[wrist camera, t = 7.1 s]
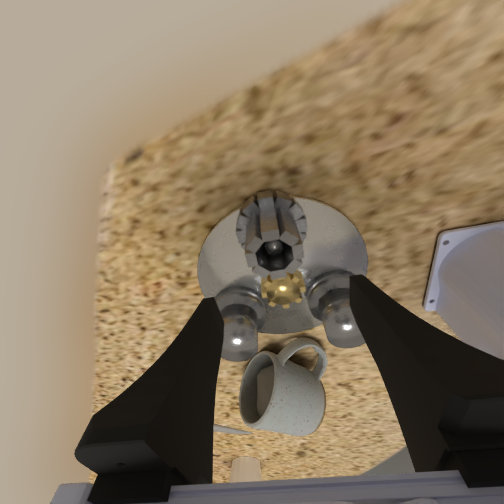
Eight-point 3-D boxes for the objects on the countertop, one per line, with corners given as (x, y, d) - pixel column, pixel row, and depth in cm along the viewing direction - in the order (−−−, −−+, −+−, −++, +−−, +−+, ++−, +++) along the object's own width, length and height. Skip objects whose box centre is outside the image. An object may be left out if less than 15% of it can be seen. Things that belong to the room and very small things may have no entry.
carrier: (363, 319, 27) (385, 366, 22) (224, 337, 29) (218, 384, 24) (368, 176, 19) (407, 203, 14) (173, 216, 21) (148, 251, 16)
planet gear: (306, 245, 21) (319, 281, 17) (245, 255, 22) (243, 293, 18) (300, 183, 19) (313, 209, 14) (229, 198, 19) (223, 227, 15)
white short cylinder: (245, 452, 47) (244, 503, 41) (269, 462, 50) (272, 511, 44) (222, 461, 50) (217, 510, 44) (246, 470, 52) (245, 518, 46)
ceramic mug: (288, 388, 35) (297, 454, 28) (238, 370, 33) (235, 437, 26) (339, 347, 30) (364, 415, 24) (285, 322, 28) (296, 390, 21)
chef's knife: (251, 436, 45) (259, 431, 43) (251, 444, 44) (259, 439, 42) (147, 414, 40) (151, 407, 39) (145, 422, 39) (149, 415, 38)
